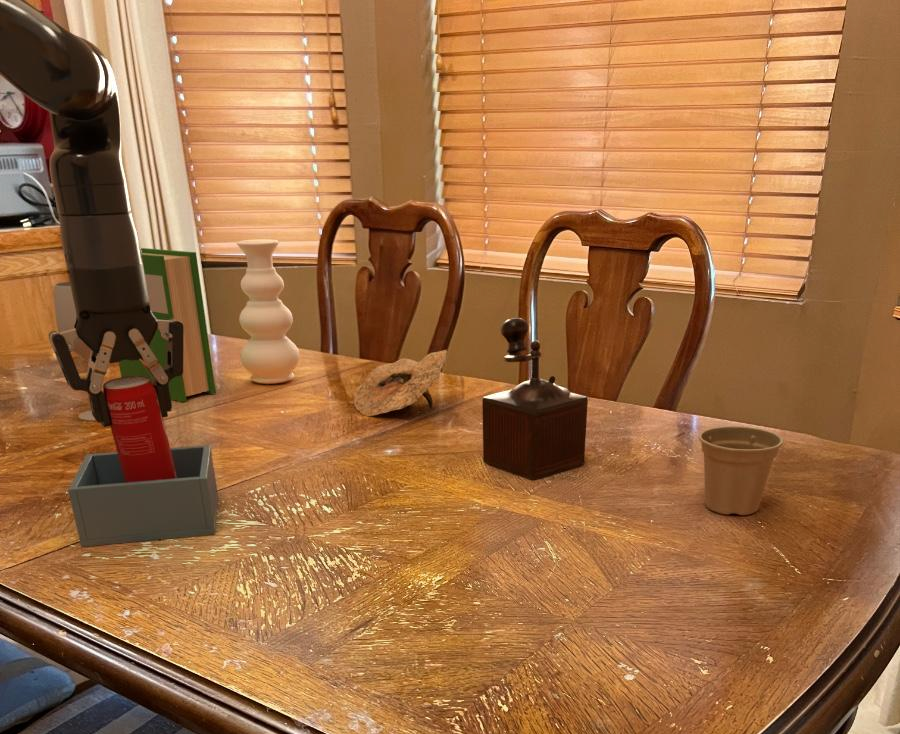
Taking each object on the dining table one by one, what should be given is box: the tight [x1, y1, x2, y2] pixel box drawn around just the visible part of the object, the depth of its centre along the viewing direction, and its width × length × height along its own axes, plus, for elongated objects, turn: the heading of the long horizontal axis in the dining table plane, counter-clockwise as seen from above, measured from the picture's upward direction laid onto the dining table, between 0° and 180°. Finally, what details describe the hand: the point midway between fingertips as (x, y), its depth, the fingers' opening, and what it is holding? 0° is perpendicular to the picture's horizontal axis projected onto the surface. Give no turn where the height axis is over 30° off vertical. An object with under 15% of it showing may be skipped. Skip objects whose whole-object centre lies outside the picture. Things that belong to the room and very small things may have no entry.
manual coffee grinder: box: [481, 317, 589, 481], centre depth 117 cm, size 16×11×18 cm
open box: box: [67, 444, 219, 548], centre depth 101 cm, size 15×13×7 cm
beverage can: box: [102, 375, 177, 483], centre depth 99 cm, size 6×6×15 cm
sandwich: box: [352, 349, 448, 417], centre depth 145 cm, size 18×14×8 cm
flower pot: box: [698, 425, 784, 516], centre depth 101 cm, size 9×9×9 cm
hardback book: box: [118, 247, 217, 403], centre depth 153 cm, size 18×7×24 cm, turn 53°
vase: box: [236, 238, 300, 385], centre depth 159 cm, size 11×11×25 cm
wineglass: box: [53, 281, 97, 422], centre depth 140 cm, size 8×8×21 cm
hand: (134, 419), depth 97 cm, fingers closed on beverage can, 5 cm apart
